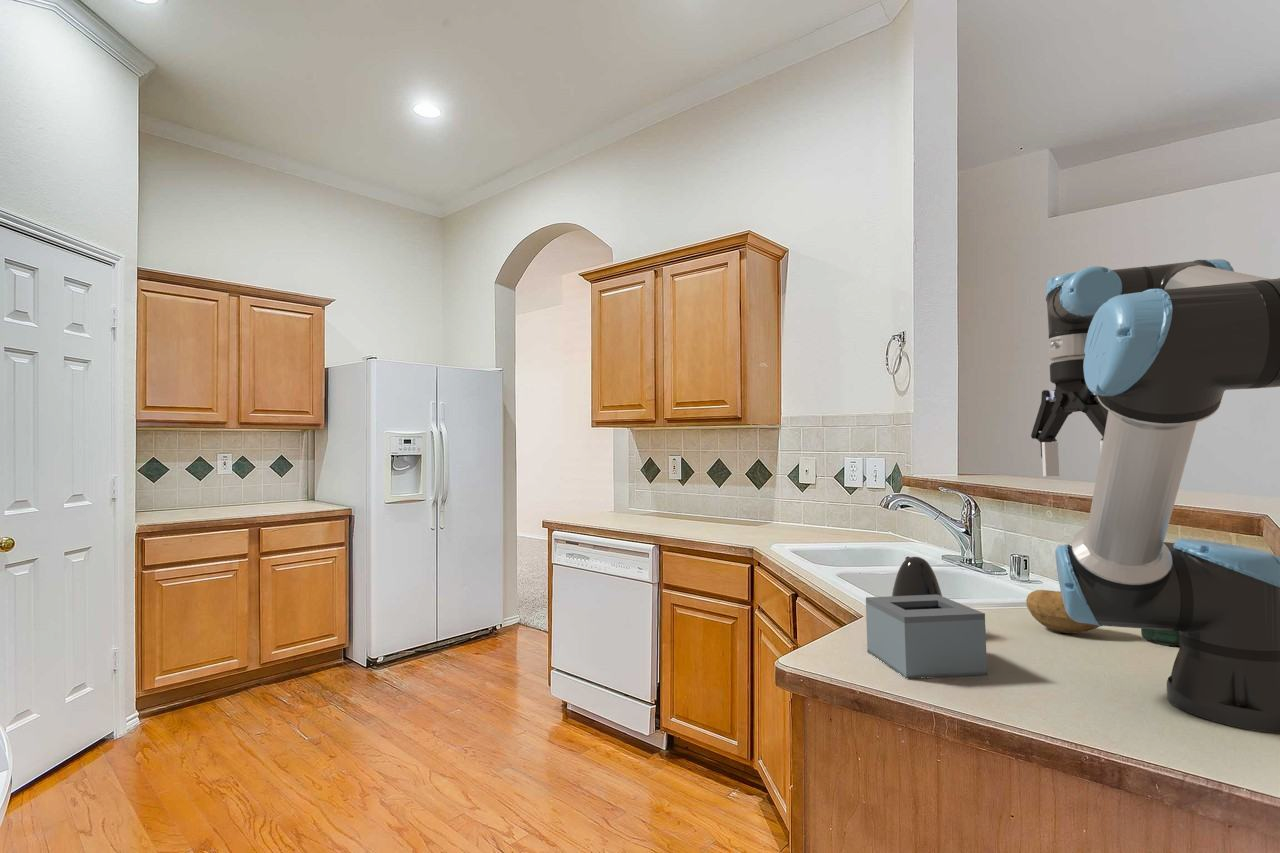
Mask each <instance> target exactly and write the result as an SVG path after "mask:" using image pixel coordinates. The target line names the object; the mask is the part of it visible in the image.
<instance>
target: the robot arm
mask: <svg viewBox="0 0 1280 853" xmlns="http://www.w3.org/2000/svg"><path fill="white" fill-rule="evenodd" d="M1045 301H1046V309H1047V311H1046V312H1047V328H1048V329H1047V330H1048V346H1049V347H1048V348H1049V350H1048V351H1049V360H1050V362H1051V361H1052V362H1051V363H1050V364H1049V379H1050V380H1049V381H1050V383H1052V384H1054V385H1055V388H1054V389H1045V390H1042V391H1041V400H1040V401H1041V402H1040V405H1039V409H1038V412H1037V415H1036V418H1035V422H1034V425H1033V427H1032V431H1031V434H1030V437H1031V439H1033V440H1037V441H1038V442H1039V444H1040V458H1041V459H1042V477H1060V466H1059V465H1060V462H1059V460H1060V459H1059V443H1058V440H1057V438H1056V437H1057V436H1058V434H1059V432H1060V431H1061V429H1062V427H1063V425H1064V424H1065V422H1066V420H1067V419H1068V417H1069V415H1072V414H1073V413H1078V412H1082V413H1083V414H1085V415H1086V417H1087V418H1088V419H1089V421H1091V423H1092V424H1093V426H1094V427H1095V428H1096V430H1097V431H1098V432H1099V434H1100V435H1101V439H1100V442H1099V448H1100V450H1099V451H1100V456H1099V461H1098V468H1097V473H1096V477H1095V484H1094V489H1093V494H1092V500H1091V506H1090V511H1089V516H1088V522H1087V525H1086V526H1084V527H1082V528H1080V529H1079V530H1078V531H1077V532H1076V533H1075V534H1074V536H1073V538H1072V541H1071V544H1069V543H1066V544H1062V545H1058V546H1056V548H1055V553H1054V554H1055V563H1056V564H1055V565H1056V572H1057V578H1058V584H1059V589H1060V591H1061V594H1062V599H1063V603H1064V607H1065V610H1066V612H1067V614H1068V616H1069V617H1070V618H1071V619H1072V620H1074V621H1076V622H1079V623H1086V624H1093V625H1097V626H1100V627H1113V628H1115V627H1116V628H1117V627H1118V628H1130V629H1131V628H1132V629H1141V628H1142V629H1157V630H1170V631H1179V632H1180V645H1179V648H1178V651H1177V654H1176V656H1175V659H1174V662H1173V666H1172V669H1171V673H1170V674H1171V675H1169V676H1168V678H1167V680H1166V698H1167V700H1168V701H1169V702H1170V703H1171V704H1172V705H1174V706H1175V707H1177V708H1179V709H1180V710H1182V711H1185V712H1187V713H1189V714H1192V715H1194V716H1196V717H1199V718H1202V719H1204V720H1209V721H1211V722H1212V721H1213V722H1216V723H1219V724H1223V725H1226V726H1227V725H1228V726H1232V727H1235V728H1241V729H1246V730H1252V731H1260V732H1266V733H1275V734H1280V556H1278V555H1276V554H1274V553H1271V552H1268V551H1265V550H1261V549H1260V550H1259V549H1255V548H1252V547H1246V546H1241V545H1235V544H1234V545H1233V544H1228V543H1222V542H1216V541H1208V540H1200V539H1191V538H1189V539H1188V538H1178V539H1176V540H1175V542H1174V543H1175V544H1174V545H1173V546H1174V549H1168V547H1167V546H1166V545H1165V544H1164V542H1165V538H1166V534H1167V531H1168V527H1169V525H1170V522H1171V517H1172V513H1173V509H1174V506H1175V503H1176V499H1177V495H1178V492H1179V489H1180V485H1181V481H1182V477H1183V474H1184V470H1185V467H1186V465H1187V464H1186V463H1187V459H1188V456H1189V453H1190V449H1191V446H1192V443H1193V438H1194V435H1195V431H1196V426H1197V423H1199V422H1201V421H1202V422H1203V420H1206V419H1208V418H1210V417H1211V416H1213V415H1214V414H1215V413H1217V411H1218V410H1219V408H1220V405H1221V404H1222V399H1223V396H1224V393H1225V391H1228V390H1229V391H1230V390H1249V389H1250V390H1251V389H1265V388H1266V389H1267V388H1269V389H1270V388H1278V387H1280V277H1277V278H1272V279H1271V278H1268V277H1263V276H1257V275H1252V274H1247V273H1242V272H1238V271H1237V272H1236V271H1235V270H1234V268H1233V266H1232V265H1231V262H1230V261H1229V260H1226V259H1223V258H1216V259H1195V260H1192V261H1184V262H1175V263H1167V264H1158V265H1151V266H1150V265H1149V266H1136V267H1129V268H1128V267H1127V268H1118V269H1111V268H1108V267H1104V266H1100V265H1099V266H1098V265H1096V266H1089V267H1085V268H1083V269H1081V270H1079V271H1077V272H1069V273H1064V274H1059V275H1057V276H1054V277H1051V278H1050V279H1049V280H1048V281H1047V283H1046V295H1045Z"/></svg>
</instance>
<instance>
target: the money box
mask: <svg viewBox="0 0 1280 853" xmlns="http://www.w3.org/2000/svg"><path fill="white" fill-rule="evenodd" d="M865 613H866V614H865V617H866V641H867V642H866V647H867V648H866V649H867V650H866V651H867V653H868V652H869V653H868V654H870V655H871V654H872V655H871V656H873V657H874V656H875V657H876V659H877V658H878V659H879V661H880V660H881V661H882V662H881V661H880V662H881V663H883V662H884V663H885V664H884V663H883V664H884V665H886V664H887V665H888V666H889V667H888V666H887V665H886V666H887V667H888V668H890V667H891V668H892V669H891V668H890V669H891V670H893V669H894V670H895V671H894V670H893V671H894V672H896V673H897V672H898V673H900V674H901V675H902V677H903V676H904V677H905V678H904V677H903V678H904V679H906V678H917V679H922V678H921V677H925V678H924V679H930V677H935V678H947V677H948V678H950V676H953V677H968V676H967V675H969V677H970V676H985V675H986V676H987V675H988V662H987V661H988V660H987V659H988V658H987V634H986V633H987V632H986V613H985V612H982V611H979V610H977V609H974V608H972V607H969V606H967V605H964V604H962V603H960V602H957V601H955V600H952V599H950V598H946V597H944V596H943V595H942V596H940V595H937V594H936V595H912V596H892V595H891V596H889V595H888V596H871V597H869V596H866V597H865ZM875 657H874V658H875ZM878 659H877V660H878ZM898 673H897V674H898ZM900 674H899V675H900ZM901 675H900V676H901ZM927 677H929V678H927Z"/></svg>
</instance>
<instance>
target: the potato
mask: <svg viewBox="0 0 1280 853" xmlns="http://www.w3.org/2000/svg"><path fill="white" fill-rule="evenodd" d="M1025 601H1026V602H1025V603H1026V607H1027V609H1028V612H1030V614H1031V616H1032V617H1033V618H1034V619H1035V620H1036V621H1037V622H1038V623H1039V624H1041V625H1042V626H1043V627H1046V628H1048V629H1050V630H1054V631H1056V632H1059V633H1066V634H1077V633H1079V634H1080V633H1083V632H1090V631H1093V630H1096V629H1097V628H1100V627H1101V626H1097V625H1093V624H1086V623H1079V622H1076V621H1074V620H1072V619H1071V618H1070V617H1069V616H1068V614H1067V612H1066V610H1065V607H1064V603H1063V599H1062V594H1061V590H1060V591H1059V590H1058V591H1057V590H1048V589H1036V590H1033V591H1031V592H1030V593H1029V594H1028V595H1027V596H1026V599H1025Z"/></svg>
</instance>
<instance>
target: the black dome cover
mask: <svg viewBox="0 0 1280 853" xmlns="http://www.w3.org/2000/svg"><path fill="white" fill-rule="evenodd" d="M904 559H905V560H904V561H903V562H902V564H901V565H900V567H899V569H898V571H897V574H896V577H895V580H894V584H893V588H892V594H891V596H912V595H936V594H937V595H940V596H942V597H943V594H942V591H941V587H940V584H939V581H938V579H937V577H936V573H935V571H934V569H933V567H932V566H931V564H930V563H929V562H928V561H927V560H925V559H924V558H923V557H921V556H911V557H910V556H906V557H905V558H904Z"/></svg>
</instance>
